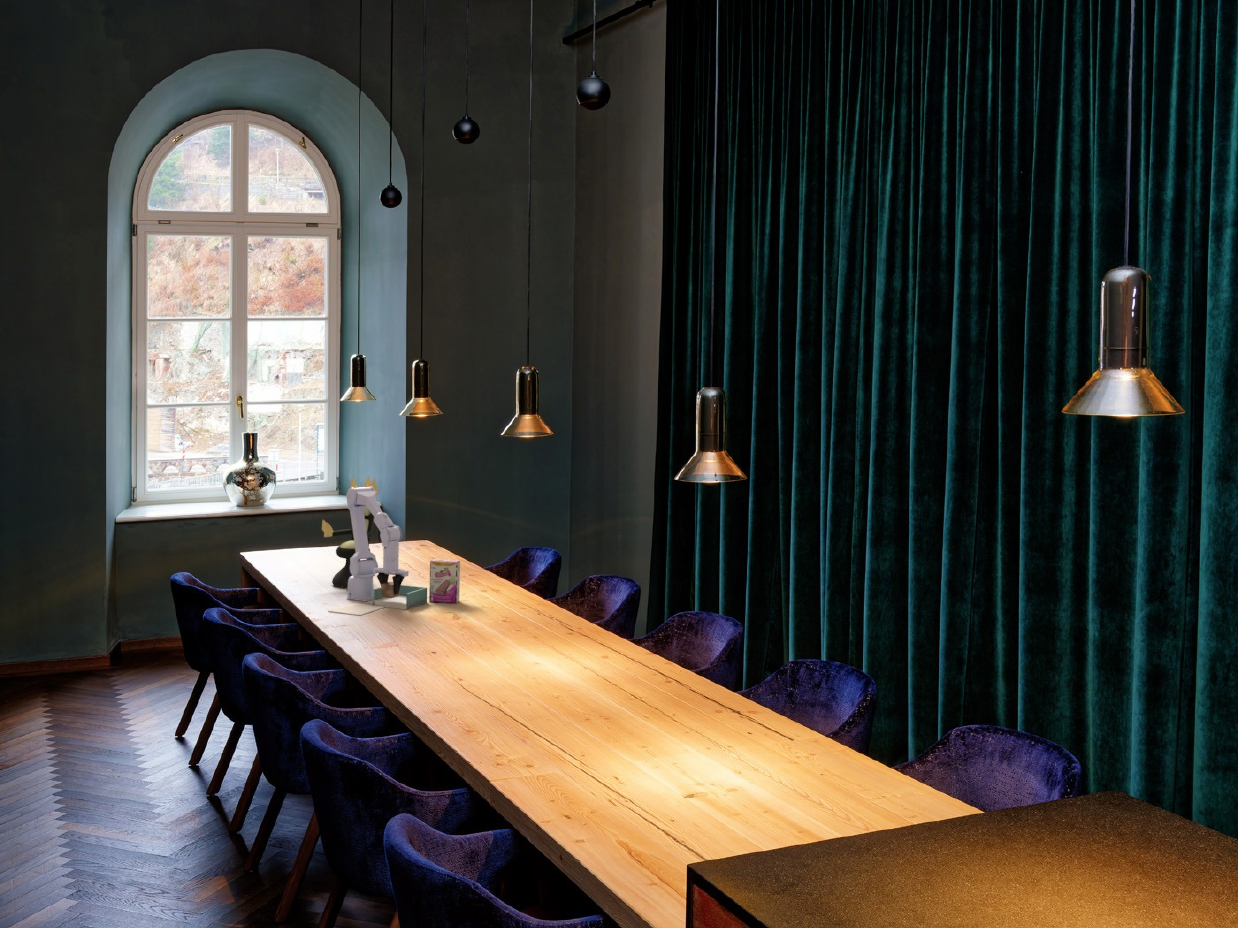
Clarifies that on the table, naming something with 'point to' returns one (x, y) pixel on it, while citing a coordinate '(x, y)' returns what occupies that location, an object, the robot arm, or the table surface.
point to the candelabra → (348, 547)
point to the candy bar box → (444, 581)
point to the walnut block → (388, 590)
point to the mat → (356, 609)
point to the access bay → (402, 597)
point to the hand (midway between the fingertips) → (390, 593)
